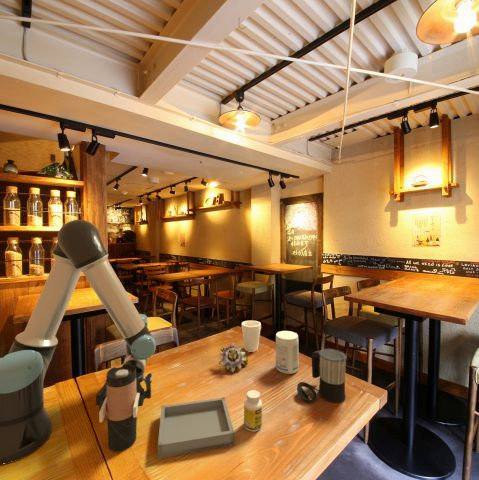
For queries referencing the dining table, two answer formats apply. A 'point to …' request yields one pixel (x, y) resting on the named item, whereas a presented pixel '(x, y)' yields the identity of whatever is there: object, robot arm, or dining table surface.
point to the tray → (194, 427)
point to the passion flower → (233, 357)
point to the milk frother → (326, 376)
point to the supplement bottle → (253, 411)
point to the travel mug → (121, 407)
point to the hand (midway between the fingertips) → (118, 414)
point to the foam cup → (251, 334)
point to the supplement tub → (287, 352)
